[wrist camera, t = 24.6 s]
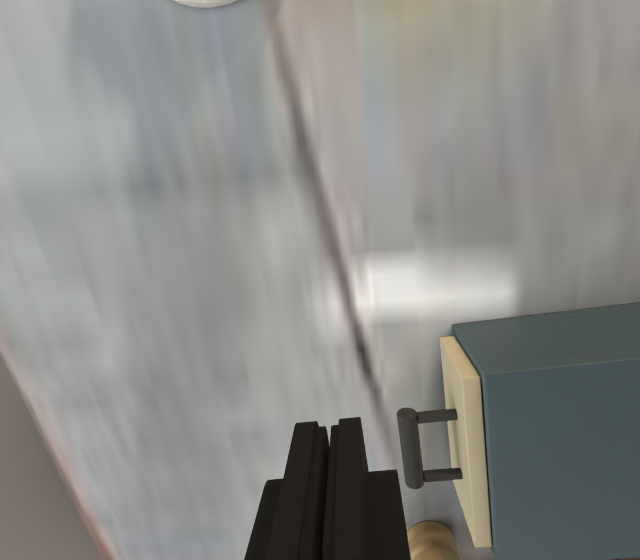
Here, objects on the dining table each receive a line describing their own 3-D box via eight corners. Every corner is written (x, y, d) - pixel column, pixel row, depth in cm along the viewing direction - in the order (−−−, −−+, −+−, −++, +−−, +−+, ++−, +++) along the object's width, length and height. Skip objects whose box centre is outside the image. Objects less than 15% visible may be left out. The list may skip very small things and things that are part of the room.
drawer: (403, 483, 36) (415, 552, 30) (386, 343, 33) (394, 385, 27) (617, 467, 34) (680, 536, 28) (620, 316, 31) (692, 354, 25)
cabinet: (464, 477, 37) (497, 566, 28) (451, 324, 33) (484, 374, 25) (639, 463, 35) (729, 553, 27) (644, 301, 32) (749, 346, 23)
